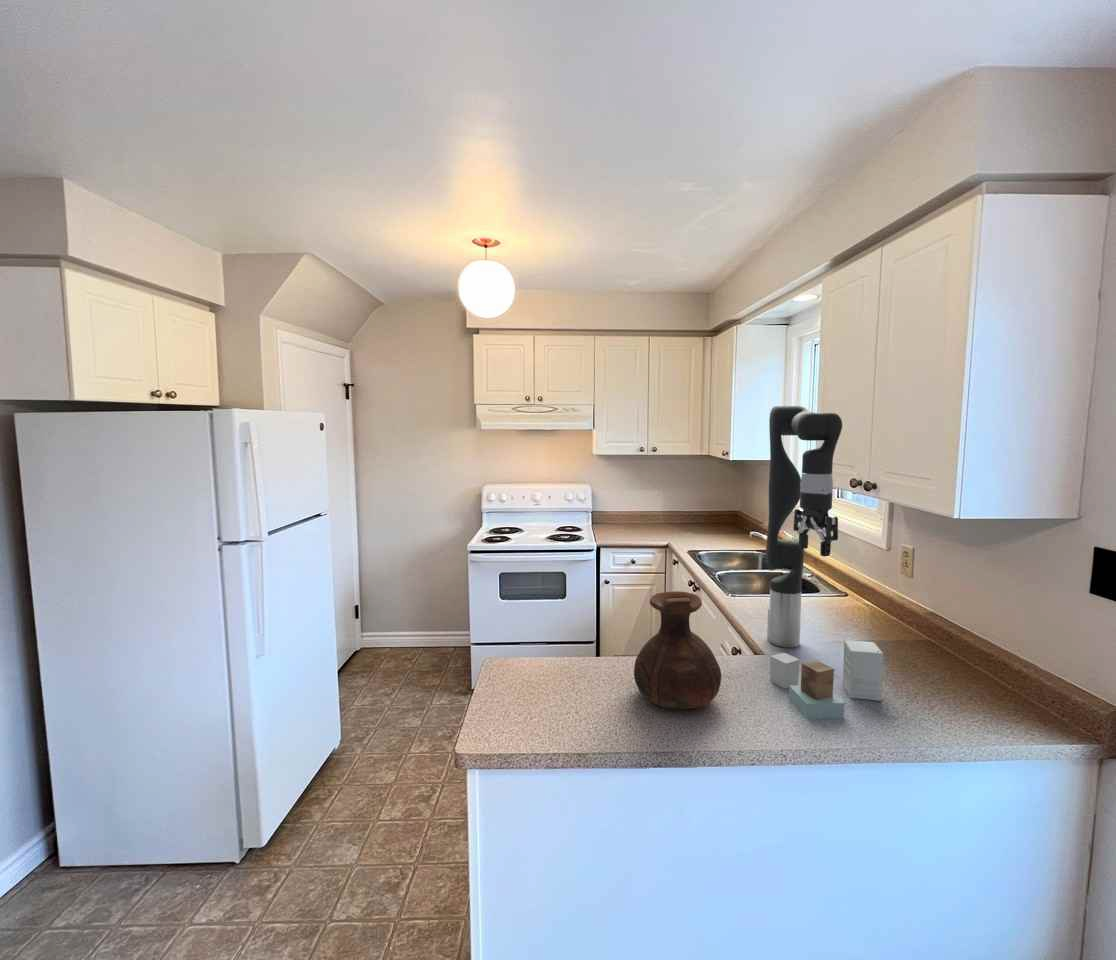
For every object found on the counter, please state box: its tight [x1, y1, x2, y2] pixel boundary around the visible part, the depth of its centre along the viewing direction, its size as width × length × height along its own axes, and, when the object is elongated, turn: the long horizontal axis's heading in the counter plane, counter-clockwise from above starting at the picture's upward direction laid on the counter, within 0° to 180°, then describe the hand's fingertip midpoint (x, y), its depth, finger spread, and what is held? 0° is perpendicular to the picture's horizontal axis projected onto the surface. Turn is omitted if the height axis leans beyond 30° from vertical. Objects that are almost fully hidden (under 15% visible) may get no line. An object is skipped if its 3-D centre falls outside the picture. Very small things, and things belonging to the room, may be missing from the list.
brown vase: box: [633, 590, 722, 710], centre depth 133 cm, size 22×22×30 cm
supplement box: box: [842, 639, 884, 702], centre depth 135 cm, size 7×7×13 cm
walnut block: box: [800, 659, 835, 700], centre depth 129 cm, size 5×5×7 cm
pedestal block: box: [788, 684, 845, 719], centre depth 129 cm, size 9×9×4 cm
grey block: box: [769, 652, 800, 689], centre depth 142 cm, size 5×5×7 cm
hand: (813, 552), depth 137 cm, fingers open, 8 cm apart
